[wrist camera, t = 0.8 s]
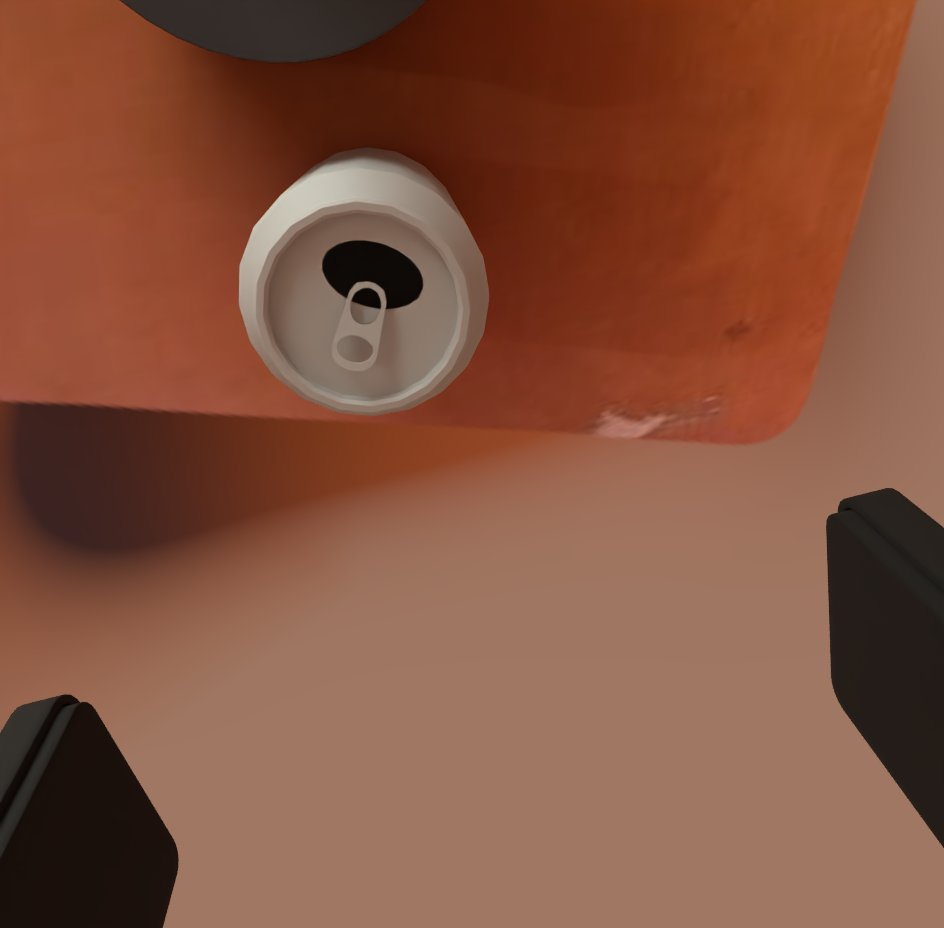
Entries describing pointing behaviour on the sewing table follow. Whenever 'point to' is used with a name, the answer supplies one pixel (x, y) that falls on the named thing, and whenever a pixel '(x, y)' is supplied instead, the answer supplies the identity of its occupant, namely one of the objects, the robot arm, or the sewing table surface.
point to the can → (364, 285)
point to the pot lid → (277, 25)
